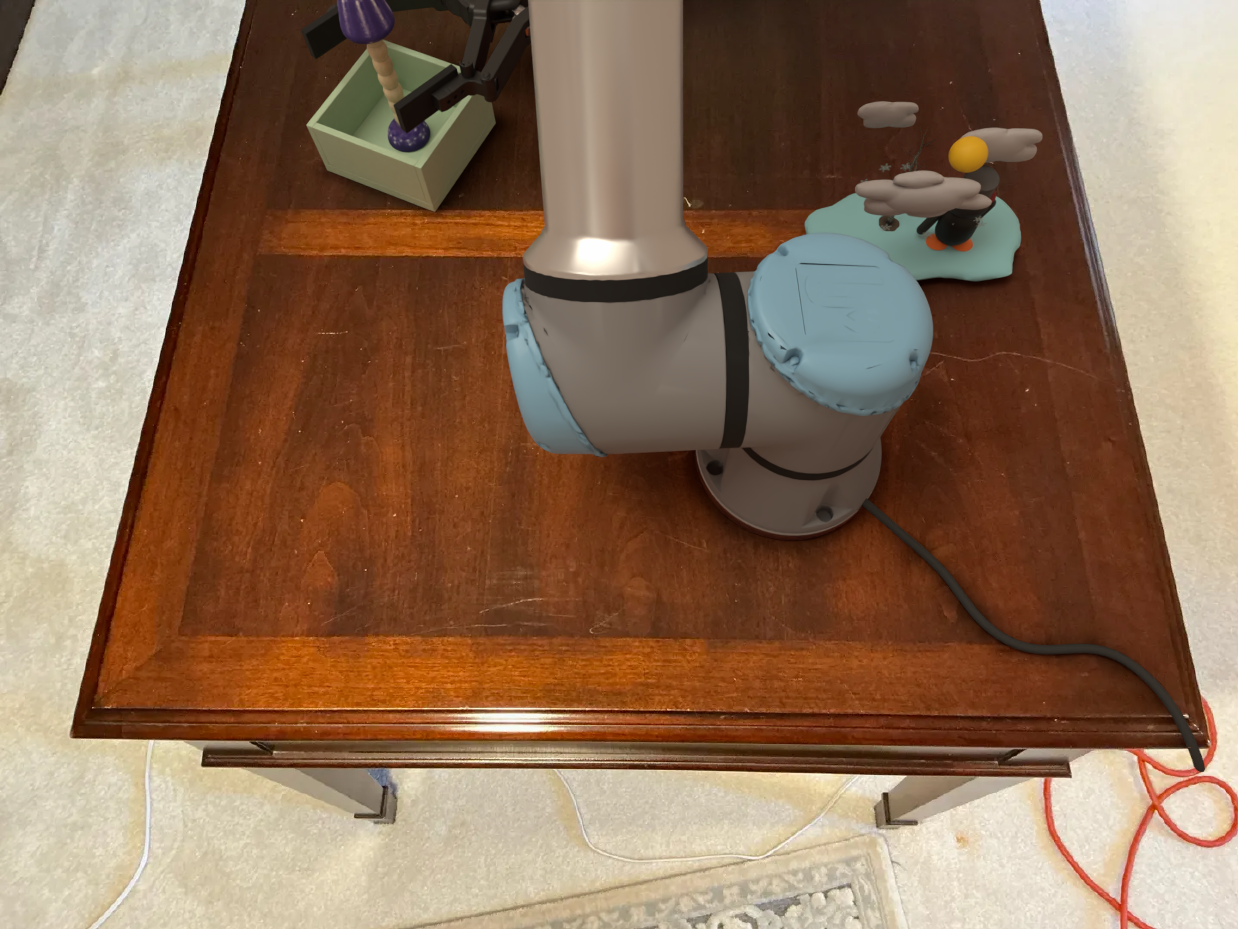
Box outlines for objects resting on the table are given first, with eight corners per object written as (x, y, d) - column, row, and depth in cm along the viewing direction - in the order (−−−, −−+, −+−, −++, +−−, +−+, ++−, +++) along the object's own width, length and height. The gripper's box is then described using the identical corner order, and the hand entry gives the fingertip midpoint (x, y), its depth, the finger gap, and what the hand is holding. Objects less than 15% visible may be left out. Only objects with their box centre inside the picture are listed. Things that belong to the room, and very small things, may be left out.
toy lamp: (389, 159, 84) (334, 9, 68) (376, 126, 85) (320, -28, 70) (436, 144, 84) (391, -8, 69) (422, 112, 86) (376, -44, 71)
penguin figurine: (1006, 200, 82) (1083, 72, 68) (1026, 293, 78) (1113, 177, 64) (798, 201, 82) (833, 74, 68) (808, 295, 78) (846, 179, 64)
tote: (496, 123, 86) (486, 75, 81) (435, 212, 82) (420, 168, 77) (391, 85, 89) (375, 36, 83) (327, 170, 84) (305, 124, 79)
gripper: (623, 55, 81) (452, 186, 75) (453, -64, 87) (285, 47, 82) (622, -17, 74) (434, 121, 68) (438, -140, 80) (253, -25, 75)
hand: (352, 81), depth 75 cm, fingers open, 12 cm apart
